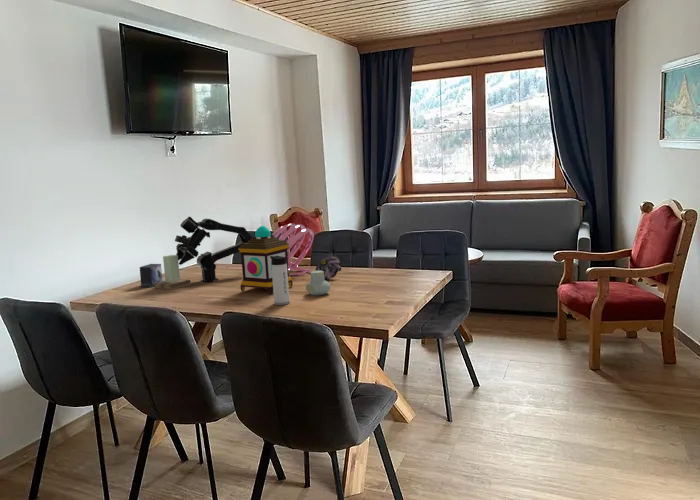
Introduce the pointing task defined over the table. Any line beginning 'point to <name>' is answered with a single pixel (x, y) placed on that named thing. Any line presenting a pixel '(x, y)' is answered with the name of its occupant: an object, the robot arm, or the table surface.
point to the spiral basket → (291, 241)
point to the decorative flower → (329, 267)
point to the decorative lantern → (261, 259)
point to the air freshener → (317, 284)
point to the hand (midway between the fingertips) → (176, 263)
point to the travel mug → (280, 280)
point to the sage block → (171, 268)
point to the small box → (150, 275)
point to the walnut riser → (172, 284)
